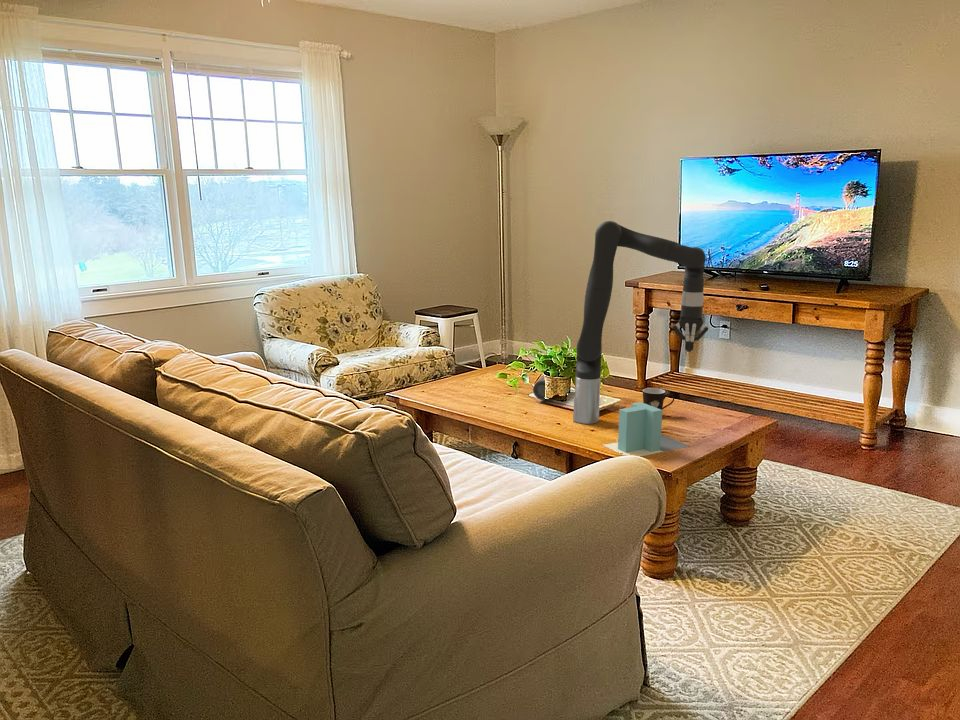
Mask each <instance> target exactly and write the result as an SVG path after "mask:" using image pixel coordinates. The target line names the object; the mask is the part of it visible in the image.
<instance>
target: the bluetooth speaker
mask: <svg viewBox="0 0 960 720" xmlns="http://www.w3.org/2000/svg"><path fill="white" fill-rule="evenodd" d="M532 392H533V395H534V396H535V398H537V399H538V400H541V401H546V400H545V398H544V397H545V380H544V377H543V376H542V377H540V378H539V379H538V380H537V381H536V382H535V383H534V385H533V389H532Z"/></svg>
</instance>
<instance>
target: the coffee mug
mask: <svg viewBox="0 0 960 720" xmlns="http://www.w3.org/2000/svg"><path fill="white" fill-rule="evenodd" d="M668 396H670V397H672V400H671V401H670V402H669V403H668V404H666V405H664V402H665V399H666V397H668ZM674 402H675V396H674V395H673V394H671V393H668V394H666V390H665V389H662V388H657V387H648V388H647V387H646V388H644V389H642V403H645V404H647V405H650V406H653V407H655V408H658V409H661V410H662V411H663V410H664V409H666V408H667V407H669V406H671V405H672V404H673V403H674Z"/></svg>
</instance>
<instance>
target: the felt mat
mask: <svg viewBox="0 0 960 720" xmlns="http://www.w3.org/2000/svg"><path fill="white" fill-rule="evenodd" d="M602 445H603V447H605V448H607V449H610V450H611V451H615V452H616V453H618V452H619V454H620V453H623V454H621V455H622V456H624V455H630V454H632V455H638V456H640V457H643V456H649V455H654V454H659V453H663V452H669V451H674V450H679V449H684V448H689V447H691V445H689V444H686V443H684V442H682V441H679V440H677V439H675V438H672V437H669V436H667V435H664V434H662V433H661V445H660V450H658V451H653V452H650V451H648V450H646V449H641V450H636V451H631V452H626V453H625V452H623V451H621V450H619V449H618V441H617V442H611V443H607V444H605V443H604V444H602Z"/></svg>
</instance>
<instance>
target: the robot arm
mask: <svg viewBox="0 0 960 720" xmlns="http://www.w3.org/2000/svg"><path fill="white" fill-rule="evenodd" d="M618 247H619V248H620V247H621V248H622V247H623V248H626V249H627V248H628V249H631V250H634V251H637V252H641V253H643V254H644V255H647V256H651V257H653V258H657V259H659V260H660V259H661V260H664V261H668V262H673V263H676V264H678V265H680V266H684V277H683V284H682V295H681V300H680V301H681V304H680V317H679V320H678V322H676V323H675V324H673V325H672V328H673V330H674V331H675V333H676V334H677V336H678V337H679V338H680V340H682V341H684V344H685V347H684V350H685V351H686V352H688V353H692V351H693V350H694V345H695V343H694V342H695V341H699V340H701V339H702V337H703V336H704V335H705V334H706V333H707V332H708V331H709V326H707V325H706V324H704V320H703V310H704V308H703V307H704V287H705V279H704V273H705V263H706V259H707V258H706V253H705V251H704V250H703V249H702V248H700V247H699V246H697V247H696V246H693V247H691V246H687V245H683V244H680V243H679V242H677V241H673V240H670V239H666V238H662V237H658V236H653V235H649V234H645V233H641V232H639V231H634V230H632V229H629V228H627V227H624V226H623V225H621V224H618V223H617V222H616V221H613V220H612V221H611V220H607V221H603V222H601V223H600V224H599V225H598V226H597V227H596V230H595V233H594V251H593V259H592V263H591V267H590V271H589V274H588V278H587V283H586V289H585V295H584V305H583V321H582V322H583V323H582V326H581V332H580V335H579V338H578V340H577V343H576V364H575V365H576V366H575V391H574V393H575V394H574V398H573V414H572V415H573V418H572V419H573V422H575V423H578V424H587V425H590V424H591V425H593V424H597V423H598V422H599V420H600V418H599V417H600V400H601V399H600V398H601V397H600V395H601V371H602V351H603V344H602V343H603V342H602V340H603V339H602V338H603V330H604V329H603V328H604V323H605V320H606V317H607V314H608V310H609V306H610V303H611V298H612V292H613V287H614V263H615V256H616V254H617V249H618ZM680 328H681V329H682V330H683V331H684V334H685V335H684V334H683V332H682V331H681V329H680ZM699 329H700V330H701V331H700V332H699V333H698V334H697V335H696V332H698V331H699ZM690 333H691V335H690Z"/></svg>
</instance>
